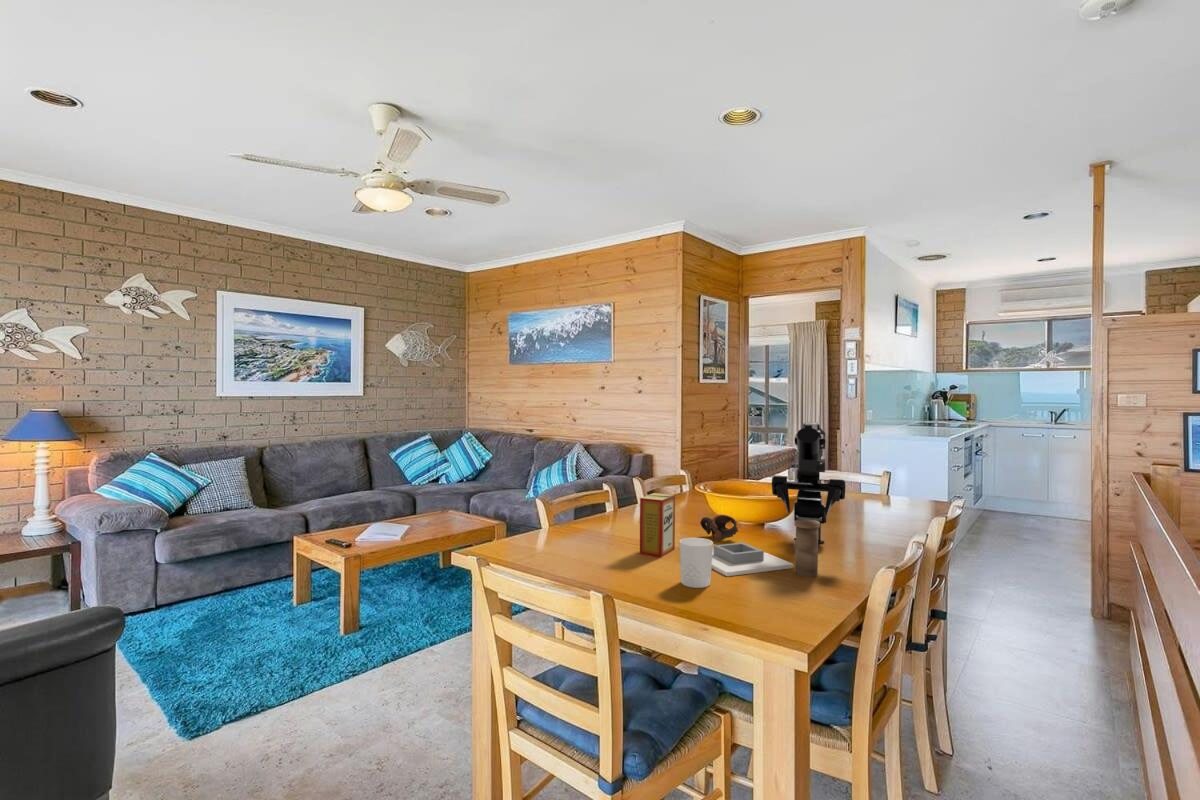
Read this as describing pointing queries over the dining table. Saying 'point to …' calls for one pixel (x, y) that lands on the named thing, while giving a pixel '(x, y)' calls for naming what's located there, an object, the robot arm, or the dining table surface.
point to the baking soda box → (657, 524)
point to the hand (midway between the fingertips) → (807, 513)
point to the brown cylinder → (807, 547)
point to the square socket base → (744, 560)
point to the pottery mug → (719, 526)
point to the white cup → (695, 561)
